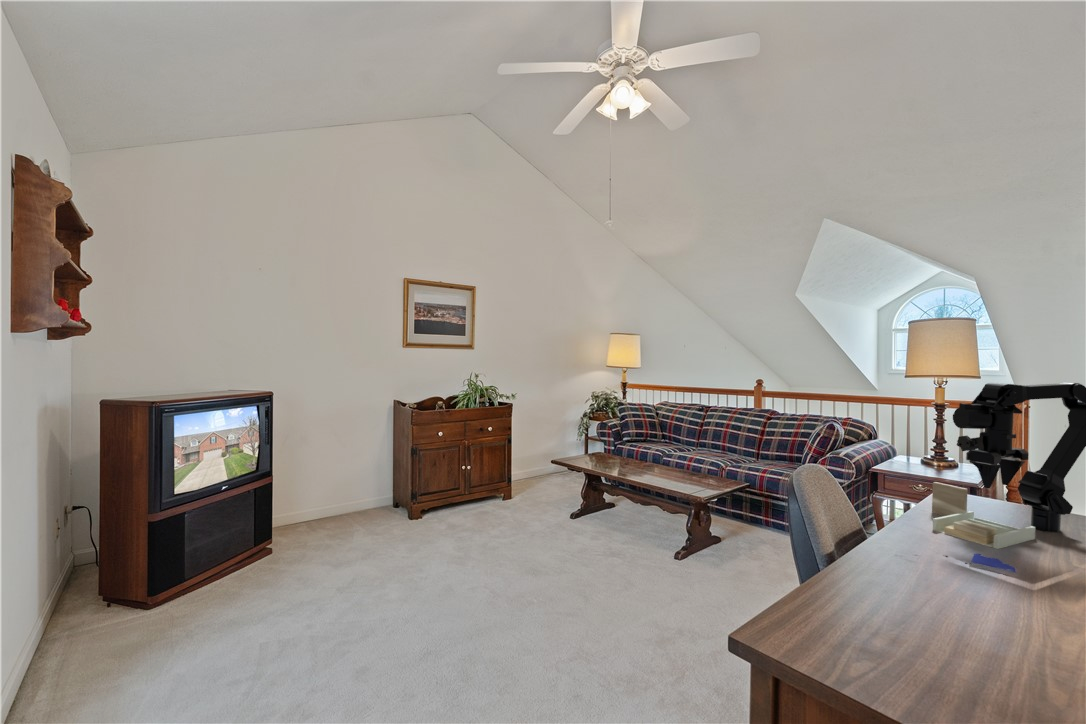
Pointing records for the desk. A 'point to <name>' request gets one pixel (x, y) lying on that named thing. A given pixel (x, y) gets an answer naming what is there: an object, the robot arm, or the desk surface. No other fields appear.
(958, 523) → the offcut top
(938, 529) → the rack
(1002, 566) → the hard drive
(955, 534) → the offcut bottom
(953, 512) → the birch sheet
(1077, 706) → the desk surface
